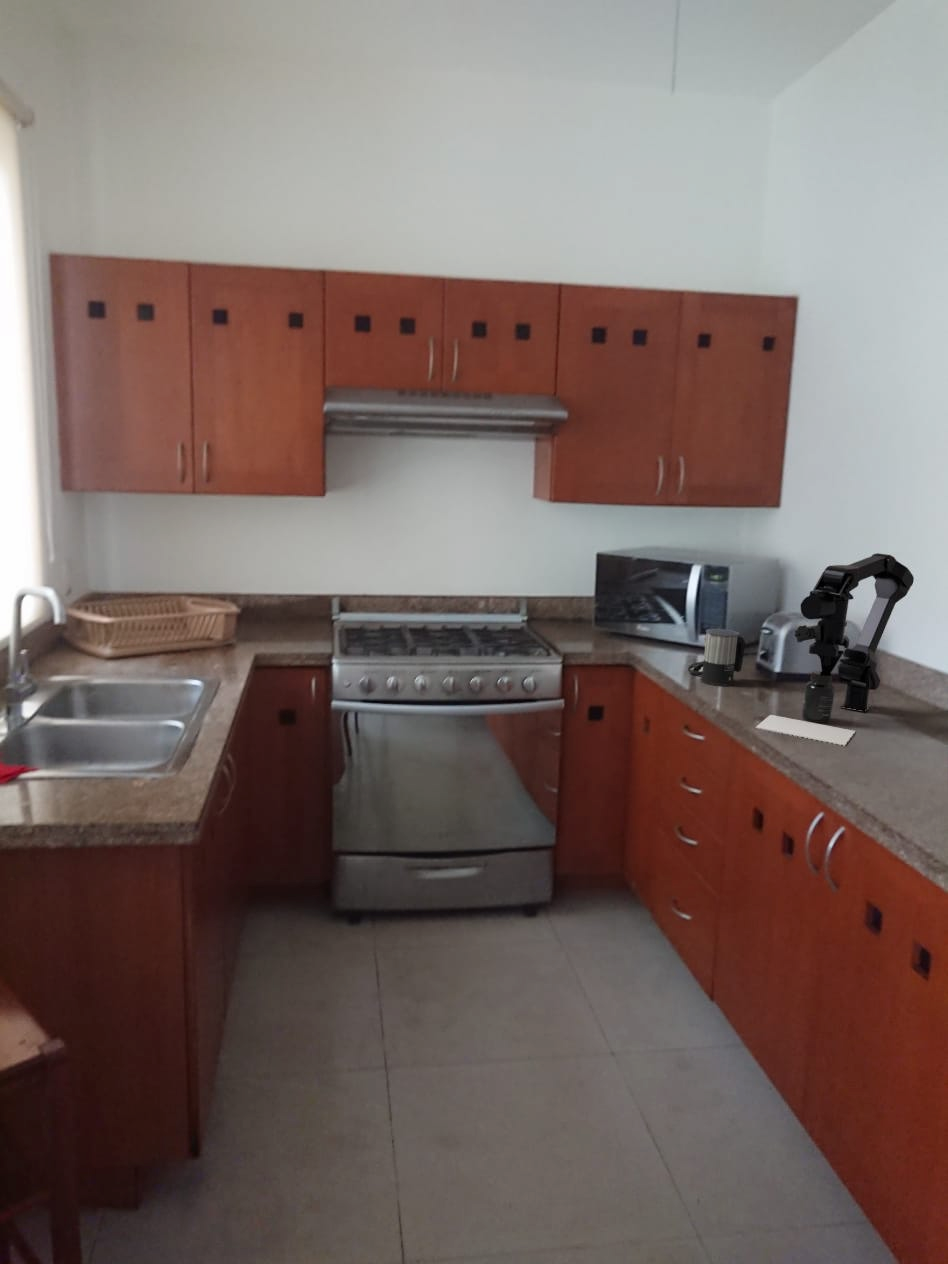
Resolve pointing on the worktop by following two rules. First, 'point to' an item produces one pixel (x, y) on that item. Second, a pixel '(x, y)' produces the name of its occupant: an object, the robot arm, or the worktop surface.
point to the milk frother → (720, 657)
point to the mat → (806, 730)
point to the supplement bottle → (818, 698)
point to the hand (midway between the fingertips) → (825, 678)
